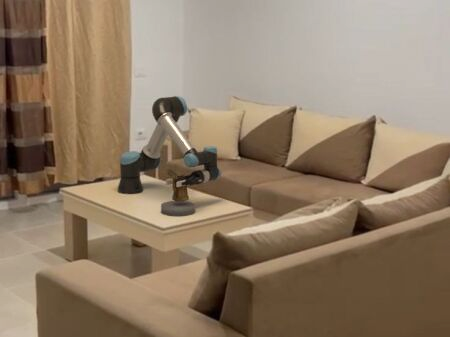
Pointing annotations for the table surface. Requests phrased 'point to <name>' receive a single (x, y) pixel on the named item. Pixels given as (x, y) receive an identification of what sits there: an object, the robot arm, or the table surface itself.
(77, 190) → the table surface
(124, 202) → the table surface
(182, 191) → the wooden mug
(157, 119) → the robot arm
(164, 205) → the charcoal plinth
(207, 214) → the table surface
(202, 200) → the table surface
